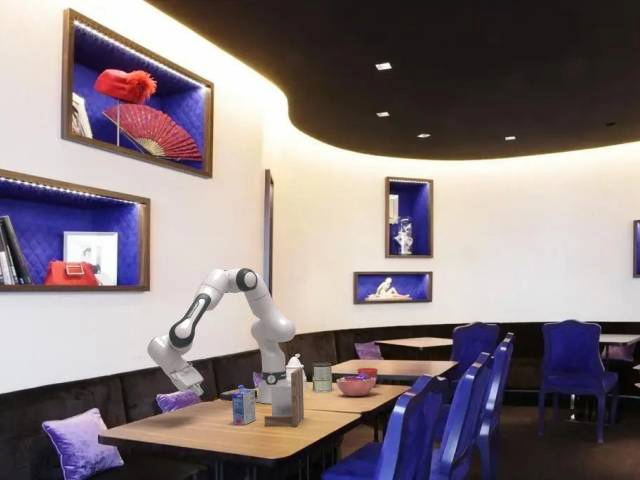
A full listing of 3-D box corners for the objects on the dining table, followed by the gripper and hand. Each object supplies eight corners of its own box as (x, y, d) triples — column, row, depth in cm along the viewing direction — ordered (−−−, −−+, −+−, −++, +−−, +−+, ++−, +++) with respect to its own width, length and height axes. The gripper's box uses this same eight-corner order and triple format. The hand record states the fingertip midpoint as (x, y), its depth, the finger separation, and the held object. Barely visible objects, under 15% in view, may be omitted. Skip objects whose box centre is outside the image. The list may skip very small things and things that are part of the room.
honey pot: (306, 385, 338) (305, 352, 340) (306, 389, 325) (305, 355, 327) (283, 386, 338) (282, 353, 340) (282, 389, 325) (281, 355, 327)
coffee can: (308, 391, 318) (308, 363, 319) (325, 389, 324) (324, 362, 325) (320, 393, 309) (319, 365, 311) (336, 391, 315) (335, 363, 317)
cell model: (331, 395, 303) (330, 372, 304) (367, 391, 310) (367, 369, 311) (344, 400, 287) (343, 375, 288) (382, 396, 294) (381, 372, 295)
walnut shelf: (273, 417, 249) (272, 368, 251) (303, 417, 247) (302, 367, 249) (263, 427, 231) (262, 373, 233) (296, 427, 230) (294, 373, 231)
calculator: (219, 392, 299) (242, 387, 311) (220, 401, 299) (242, 395, 311) (234, 394, 292) (257, 388, 304) (235, 403, 292) (257, 397, 304)
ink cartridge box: (244, 419, 247) (243, 383, 248) (256, 420, 245) (255, 383, 246) (232, 424, 238) (231, 387, 239) (244, 425, 236) (244, 387, 237)
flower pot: (376, 385, 331) (375, 367, 332) (379, 388, 320) (378, 369, 321) (357, 386, 330) (356, 368, 331) (359, 389, 320) (358, 370, 321)
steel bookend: (274, 417, 250) (273, 385, 251) (300, 417, 248) (299, 384, 250) (271, 419, 246) (271, 386, 247) (298, 419, 244) (297, 386, 245)
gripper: (173, 367, 237) (197, 392, 235) (191, 361, 257) (214, 384, 255) (162, 378, 237) (186, 404, 235) (181, 372, 257) (204, 395, 255)
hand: (201, 394), depth 245 cm, fingers closed
